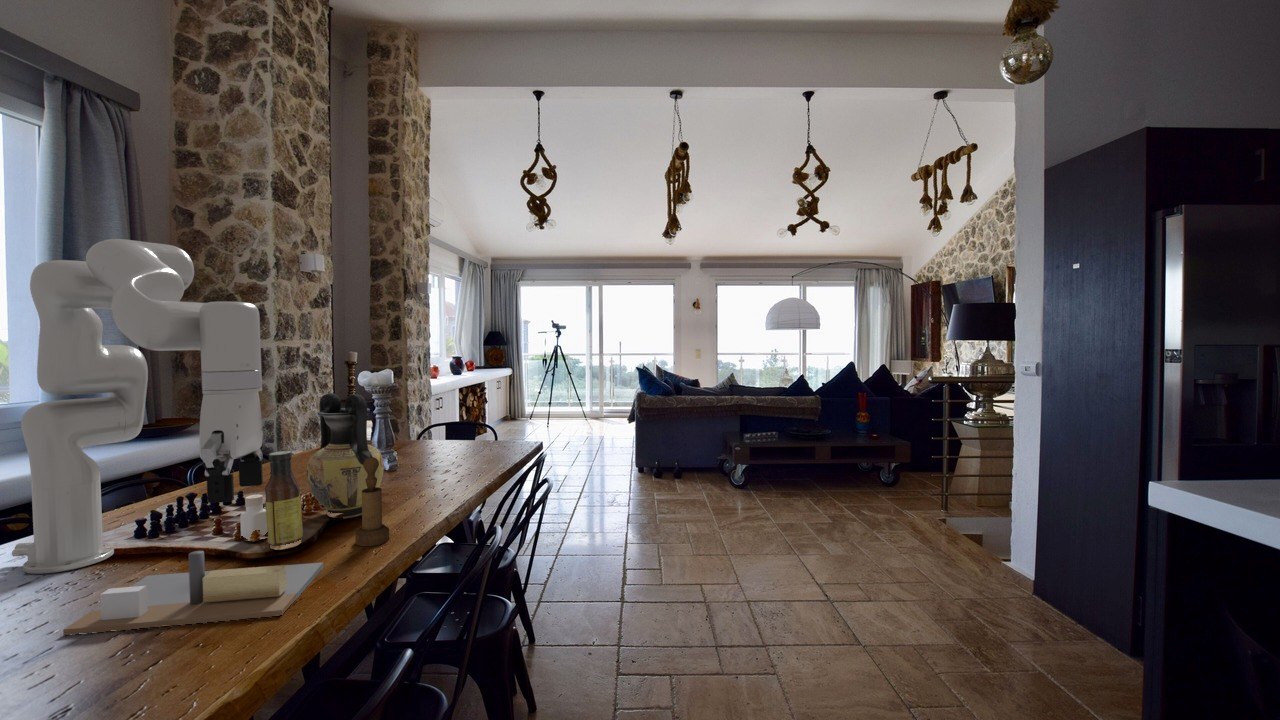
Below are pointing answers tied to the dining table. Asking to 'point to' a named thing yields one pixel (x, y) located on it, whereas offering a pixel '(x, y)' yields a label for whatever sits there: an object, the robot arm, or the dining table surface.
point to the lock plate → (185, 601)
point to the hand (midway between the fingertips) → (236, 493)
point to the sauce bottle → (283, 502)
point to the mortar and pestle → (371, 510)
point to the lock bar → (244, 583)
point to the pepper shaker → (253, 516)
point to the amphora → (342, 456)
